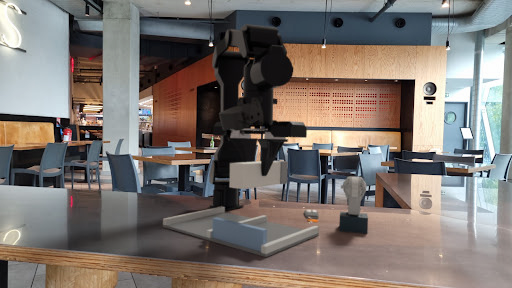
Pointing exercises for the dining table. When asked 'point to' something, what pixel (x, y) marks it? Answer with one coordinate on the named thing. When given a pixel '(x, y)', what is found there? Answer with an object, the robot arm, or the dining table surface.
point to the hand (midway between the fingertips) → (256, 175)
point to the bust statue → (354, 206)
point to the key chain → (311, 215)
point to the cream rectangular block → (257, 174)
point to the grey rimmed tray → (240, 231)
